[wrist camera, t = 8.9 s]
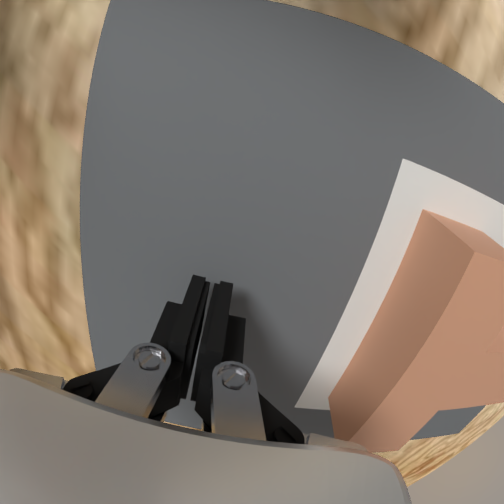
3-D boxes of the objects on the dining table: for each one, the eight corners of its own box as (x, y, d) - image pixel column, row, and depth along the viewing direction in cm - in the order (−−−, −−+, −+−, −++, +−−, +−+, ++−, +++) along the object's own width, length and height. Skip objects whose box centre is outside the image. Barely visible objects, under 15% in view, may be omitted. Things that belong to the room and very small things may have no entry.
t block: (463, 397, 17) (481, 435, 14) (327, 397, 17) (336, 453, 13) (550, 262, 12) (587, 295, 9) (422, 208, 11) (474, 251, 8)
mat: (457, 429, 21) (458, 433, 20) (105, 399, 19) (103, 403, 18) (597, 198, 10) (600, 200, 10) (117, -5, 8) (113, -7, 8)
